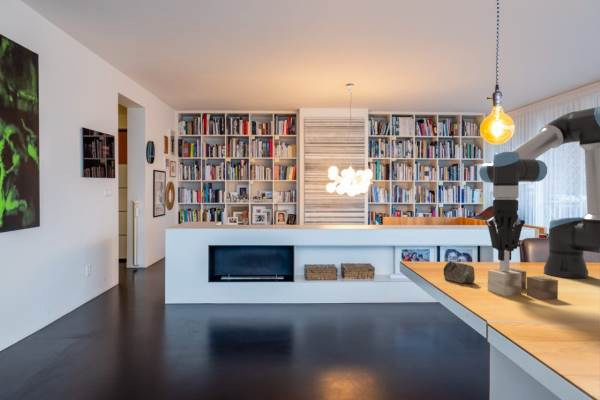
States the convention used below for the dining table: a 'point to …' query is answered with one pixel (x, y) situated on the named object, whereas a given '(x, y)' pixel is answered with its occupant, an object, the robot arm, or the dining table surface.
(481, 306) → the dining table surface
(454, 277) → the stone
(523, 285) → the marked block near
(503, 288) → the plain block
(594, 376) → the dining table surface
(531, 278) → the marked block left
